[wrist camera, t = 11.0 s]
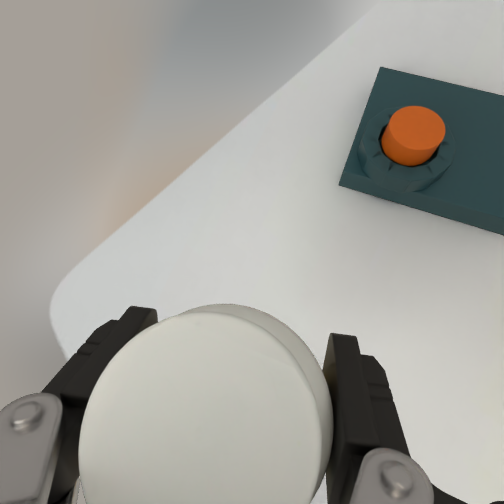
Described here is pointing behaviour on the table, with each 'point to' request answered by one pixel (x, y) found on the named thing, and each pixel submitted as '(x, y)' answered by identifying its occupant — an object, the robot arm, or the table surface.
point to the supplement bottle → (208, 415)
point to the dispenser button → (412, 135)
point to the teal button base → (445, 156)
